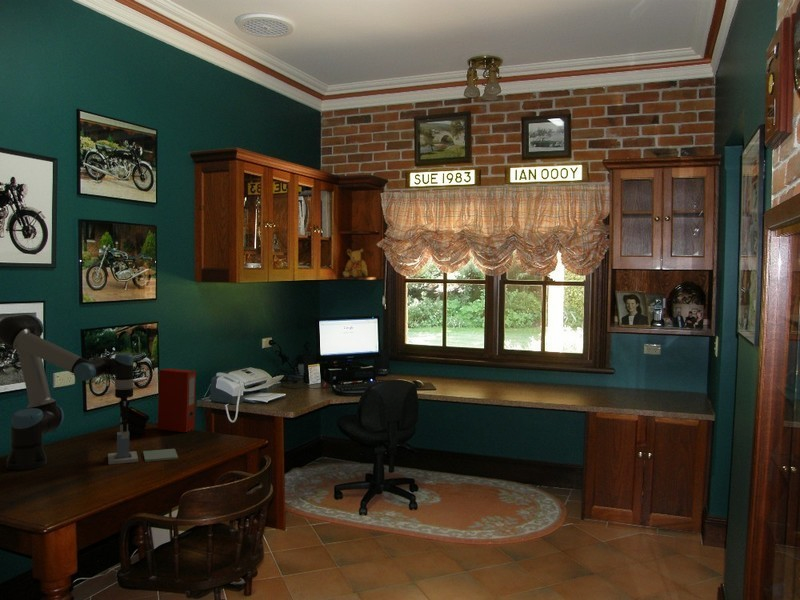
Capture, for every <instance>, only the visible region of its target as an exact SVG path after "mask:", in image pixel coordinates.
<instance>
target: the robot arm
mask: <svg viewBox="0 0 800 600" xmlns="http://www.w3.org/2000/svg"><path fill="white" fill-rule="evenodd" d="M44 330H45V329H44V324H43V322H42V321H41V320H40V319H39V318H38V317H37V316H35V315H32V314H21V315H14V316H7V317H4V318H2V319H1V320H0V342H1V343H3V344H5V345H6V346H9V347H11V348H12V349H14V350H16V351H17V354H18V355H17V356H18V359H19V364H20V369H21V371H22V375H23V381H24V386H25V389H26V392H27V396H28V402H29V403H28V404H27V406H26V408H25V409H20V410H18V411H16V412H14V413H13V414H12V416H11V421H10V429H11V430H10V433H11V434H10V435H11V436H10V441H11V443H10V445H11V446H10V451H9V454H8V456H7V458H6V460H5V461H6V462H5V464H6V465H5V467H6V469H8V470H12V471H28V470H34V469H38V468H41V467H43V466H45V465H47V463H48V462H47V461H48V459H47V455H46V452H45V450H44V445H43V436H44V435H46V434H49V433H52V432H53V431H55V430H56V429H57V430H58V428H59V427H60V426H61V425H62V424H63V422H64V418H65V413H64V410H63V409H62V407H60V406H59V405H57V401H56V399H55V398H53V397H52V396H51V392H50V387H49V383H48V380H47V374H46V371H45V367H44V363H43V360H44V361H46V362H48V363H50V364H53V365H55V366H56V367H59V368H61V369H63V370H65V371H67V372H69V373H71V374H73V376H74V378H75V379H76V380H78V381H81V382H83V381H90V380H93V379H95V378H98V377H102V376H106V375H109V376H110V375H111V376H114V397H115V398H116V399H120V400H118V402H119V403H118V404H119V411H120V412H119V414H120V415H119V416H120V419H119V422H120V423H119V425H120V426H119V430H120V431H119V432H121V439H128V410H129V407H130V406H129V405H130V401H129V399H128V398H132V397H134V383H135V380H134V364H135V363H134V355H133V354H132V353H126V352H125V353H123V352H122V353H117V354H115V356H114V358H113V357H111V358H110V357H91V358H90V357H89V359H85V358H84V357H82V356H79V355H77V354H76V353H73V352H71V351H69V350H67V349H64V348H63V347H61V346H59V345H57V344H55V343H52V342H51V341H48V340H46V339H44V338H42V335H43V333H44Z"/></svg>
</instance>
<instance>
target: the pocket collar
mask: <svg viewBox="0 0 800 600" xmlns="http://www.w3.org/2000/svg"><path fill="white" fill-rule="evenodd" d="M107 461H108V462H107V464H108V465H119V464H127V463H129V464H130V463H138V462H139V457H138V453H137V451H129V458H120V459H117V452H112V453H107Z"/></svg>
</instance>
